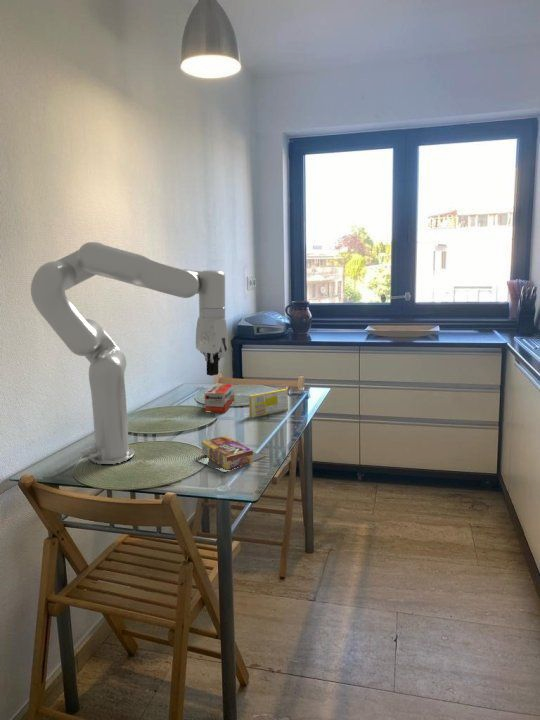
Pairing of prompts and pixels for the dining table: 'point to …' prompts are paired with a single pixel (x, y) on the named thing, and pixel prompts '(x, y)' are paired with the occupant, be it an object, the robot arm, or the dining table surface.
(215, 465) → the mat
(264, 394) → the candy box
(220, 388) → the medicine box
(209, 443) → the candy box
